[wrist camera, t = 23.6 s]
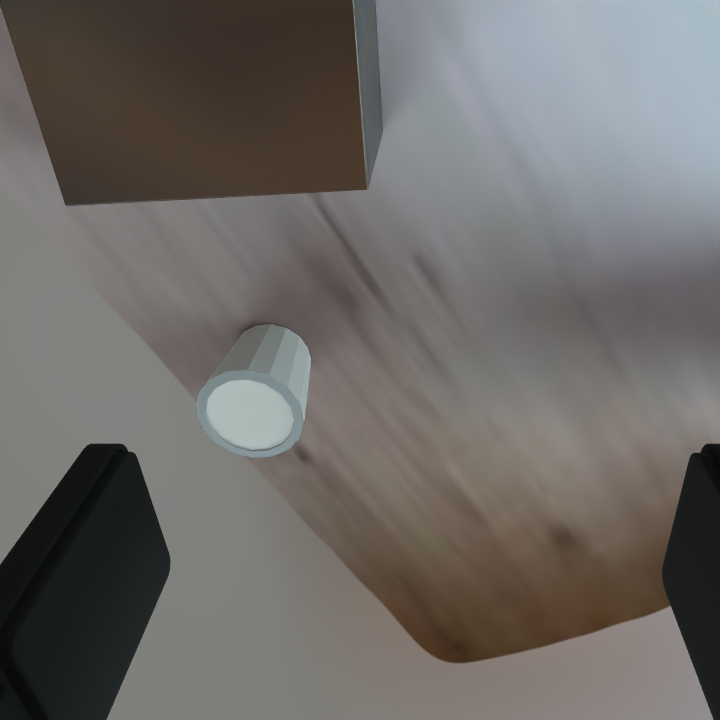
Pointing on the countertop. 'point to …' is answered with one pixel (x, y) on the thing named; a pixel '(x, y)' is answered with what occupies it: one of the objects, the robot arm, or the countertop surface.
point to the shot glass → (258, 393)
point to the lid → (194, 96)
